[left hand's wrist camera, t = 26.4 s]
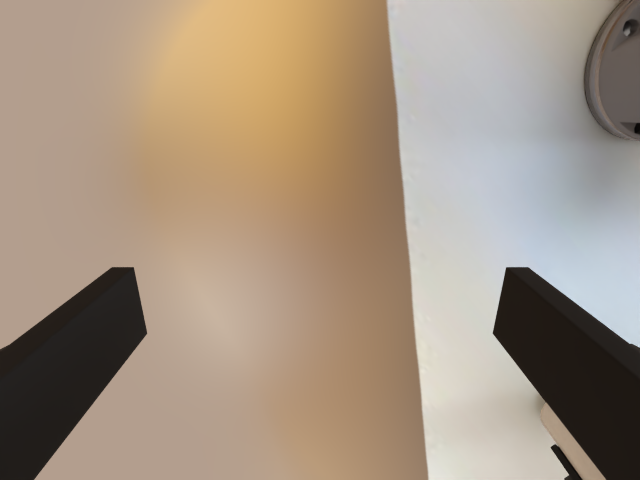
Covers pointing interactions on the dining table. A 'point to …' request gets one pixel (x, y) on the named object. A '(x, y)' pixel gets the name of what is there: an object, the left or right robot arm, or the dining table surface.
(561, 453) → the right robot arm
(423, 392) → the dining table surface
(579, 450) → the canister
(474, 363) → the dining table surface
